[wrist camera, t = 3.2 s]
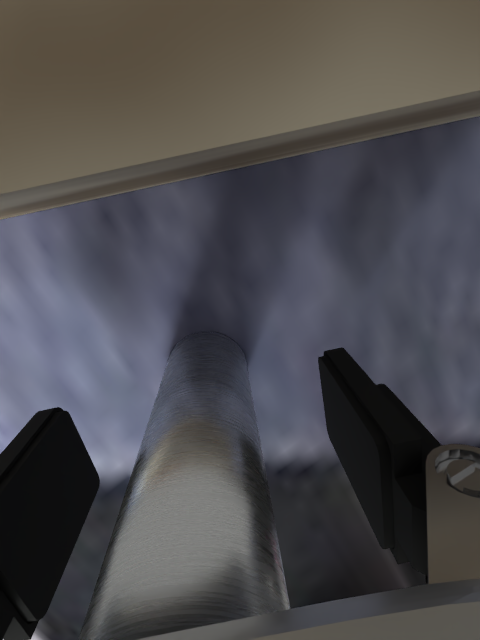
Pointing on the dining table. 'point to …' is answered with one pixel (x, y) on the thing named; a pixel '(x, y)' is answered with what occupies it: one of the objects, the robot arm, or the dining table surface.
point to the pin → (193, 508)
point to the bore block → (215, 86)
